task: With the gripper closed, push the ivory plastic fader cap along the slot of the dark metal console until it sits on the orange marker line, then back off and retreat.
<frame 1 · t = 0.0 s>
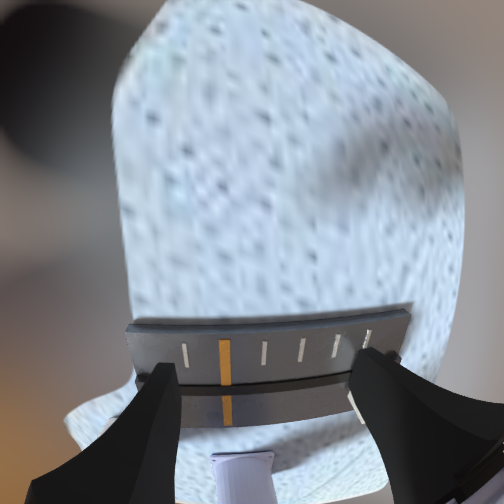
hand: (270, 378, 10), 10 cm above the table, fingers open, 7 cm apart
console: (276, 377, 23), on the table
fader: (371, 390, 20), point 4 cm above the table, slide at -8.0 cm
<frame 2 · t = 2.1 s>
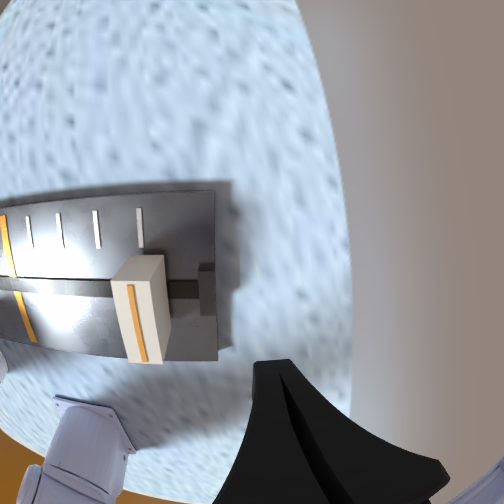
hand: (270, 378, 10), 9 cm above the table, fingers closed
console: (61, 279, 17), on the table
fader: (145, 308, 14), point 4 cm above the table, slide at -8.0 cm
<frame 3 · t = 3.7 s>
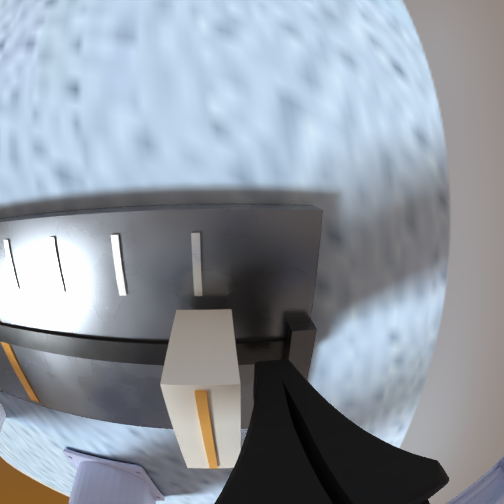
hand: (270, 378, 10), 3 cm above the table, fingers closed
console: (64, 329, 11), on the table
fader: (207, 396, 9), point 4 cm above the table, slide at -7.7 cm, touching gripper
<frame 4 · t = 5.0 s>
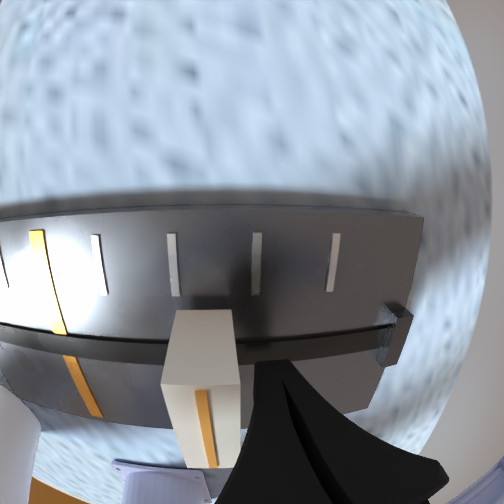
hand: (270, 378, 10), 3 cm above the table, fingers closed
console: (154, 336, 12), on the table
foam cup: (14, 407, 13), on the table
fader: (207, 396, 9), point 4 cm above the table, slide at -2.6 cm, touching gripper
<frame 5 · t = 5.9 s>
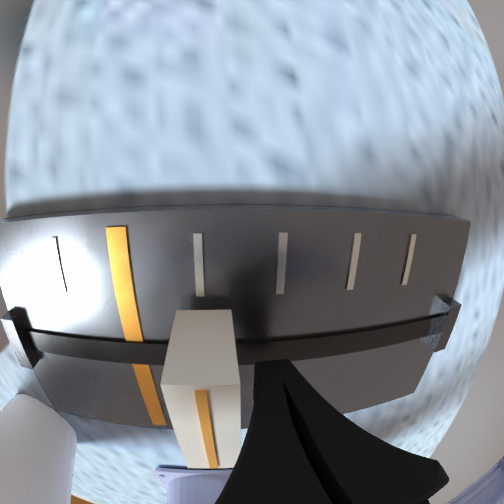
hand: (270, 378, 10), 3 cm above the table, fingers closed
console: (237, 336, 12), on the table
foam cup: (45, 418, 14), on the table
fader: (207, 396, 9), point 4 cm above the table, slide at 1.4 cm, touching gripper
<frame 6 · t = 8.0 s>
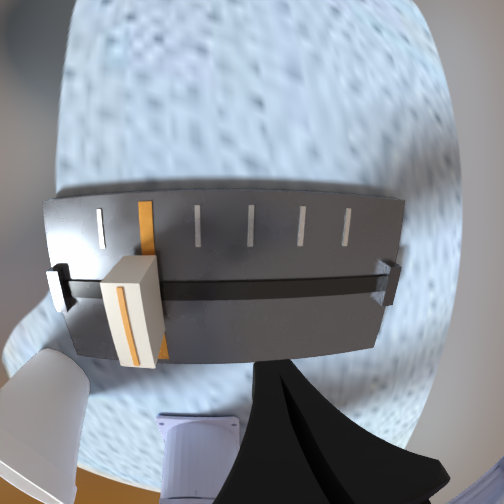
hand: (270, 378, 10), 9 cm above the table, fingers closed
console: (224, 282, 18), on the table
foam cup: (62, 373, 19), on the table
fader: (136, 310, 14), point 4 cm above the table, slide at 4.9 cm
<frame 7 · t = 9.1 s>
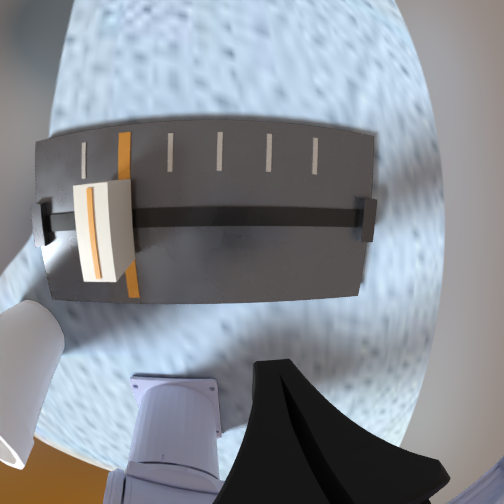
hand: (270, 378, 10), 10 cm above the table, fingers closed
console: (195, 213, 18), on the table
foam cup: (39, 328, 19), on the table
fader: (106, 226, 13), point 4 cm above the table, slide at 4.9 cm
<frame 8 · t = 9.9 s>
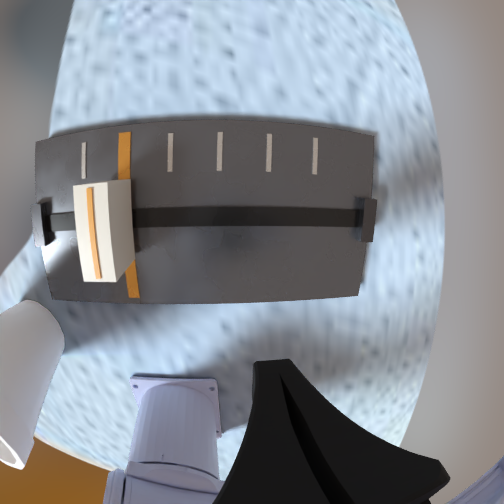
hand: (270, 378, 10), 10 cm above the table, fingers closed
console: (195, 213, 18), on the table
foam cup: (39, 328, 19), on the table
fader: (106, 226, 13), point 4 cm above the table, slide at 4.9 cm
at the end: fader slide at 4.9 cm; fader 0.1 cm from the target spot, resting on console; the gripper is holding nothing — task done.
